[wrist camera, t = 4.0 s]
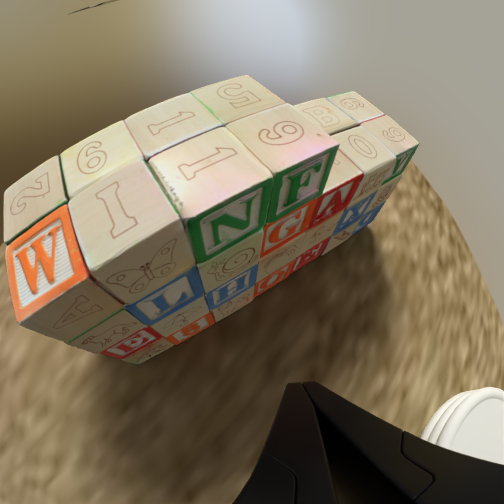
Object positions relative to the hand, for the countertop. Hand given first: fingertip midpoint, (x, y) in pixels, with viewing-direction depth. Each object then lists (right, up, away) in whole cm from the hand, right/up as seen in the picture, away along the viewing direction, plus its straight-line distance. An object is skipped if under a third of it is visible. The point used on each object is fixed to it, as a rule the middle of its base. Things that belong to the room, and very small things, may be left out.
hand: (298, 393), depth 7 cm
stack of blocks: (-2, +4, +14) cm, 14 cm away
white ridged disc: (+15, -12, +6) cm, 20 cm away
